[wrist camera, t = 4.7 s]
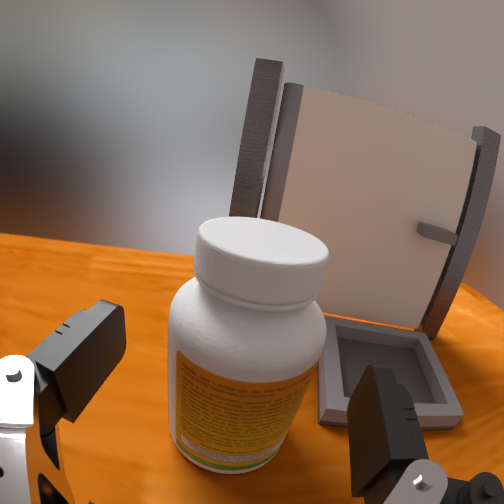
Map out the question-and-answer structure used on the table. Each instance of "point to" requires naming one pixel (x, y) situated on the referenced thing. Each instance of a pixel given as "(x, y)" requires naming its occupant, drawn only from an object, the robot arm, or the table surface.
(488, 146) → the door frame
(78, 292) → the table surface
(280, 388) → the supplement bottle
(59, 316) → the table surface
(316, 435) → the table surface
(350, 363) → the shallow tray
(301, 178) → the door
